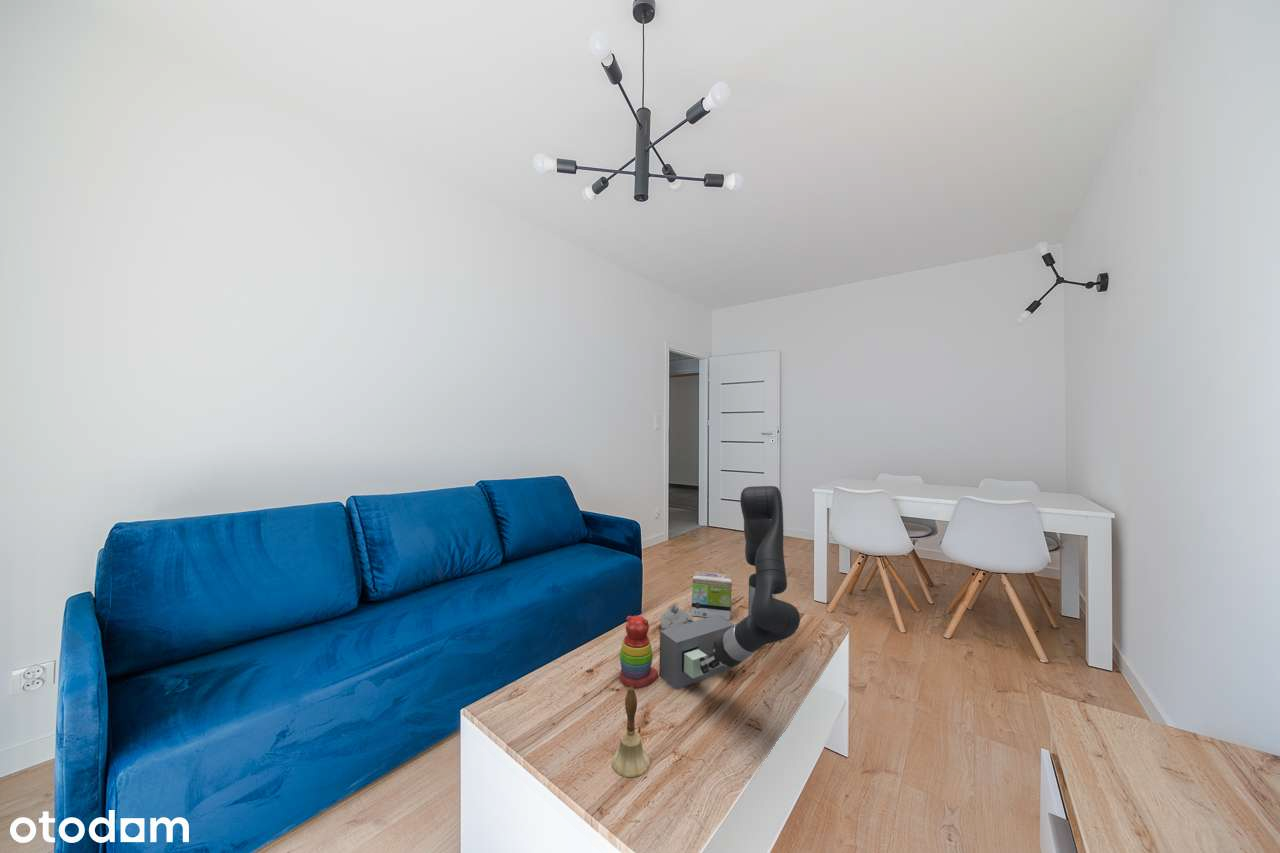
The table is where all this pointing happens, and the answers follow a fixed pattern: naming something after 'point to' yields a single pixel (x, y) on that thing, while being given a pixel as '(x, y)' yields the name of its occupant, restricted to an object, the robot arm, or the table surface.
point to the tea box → (711, 595)
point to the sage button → (693, 663)
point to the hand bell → (630, 744)
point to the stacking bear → (636, 654)
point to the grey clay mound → (674, 617)
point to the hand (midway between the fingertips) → (703, 669)
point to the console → (689, 648)
